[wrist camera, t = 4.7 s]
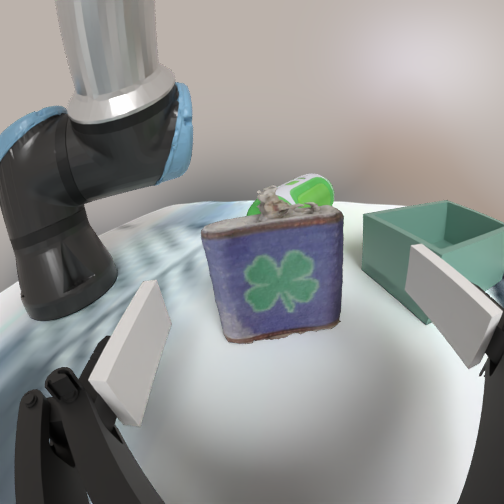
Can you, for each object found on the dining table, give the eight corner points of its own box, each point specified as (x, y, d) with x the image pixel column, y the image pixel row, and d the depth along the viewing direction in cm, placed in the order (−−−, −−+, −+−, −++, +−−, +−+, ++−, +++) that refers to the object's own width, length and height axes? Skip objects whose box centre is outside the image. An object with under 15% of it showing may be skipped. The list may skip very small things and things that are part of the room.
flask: (224, 347, 19) (191, 204, 15) (224, 323, 22) (197, 194, 18) (345, 327, 19) (348, 184, 15) (333, 306, 22) (331, 177, 18)
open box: (361, 269, 27) (363, 214, 24) (442, 245, 29) (446, 200, 26) (426, 325, 17) (441, 255, 15) (501, 280, 19) (513, 227, 17)
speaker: (299, 212, 49) (295, 171, 46) (338, 214, 45) (335, 171, 42) (246, 251, 35) (238, 195, 32) (299, 258, 32) (294, 195, 29)
